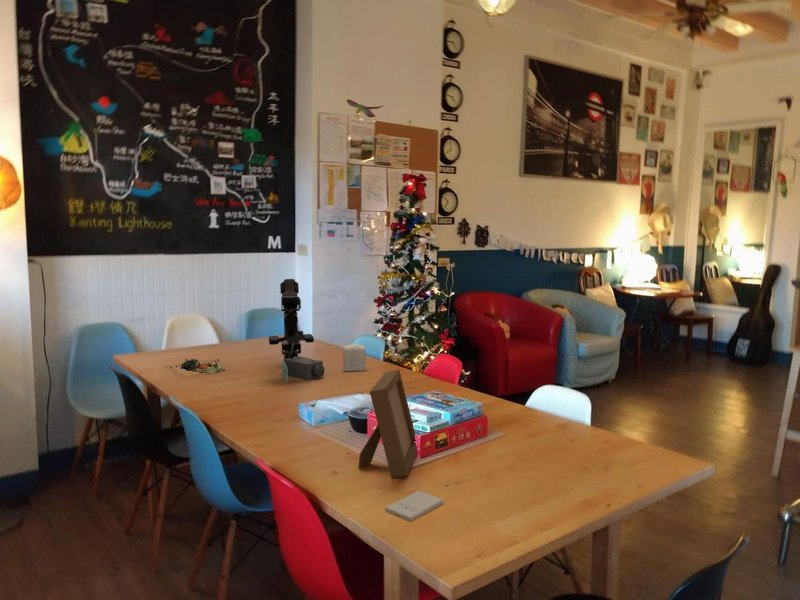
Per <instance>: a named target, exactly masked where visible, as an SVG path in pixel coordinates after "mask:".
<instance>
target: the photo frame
mask: <svg viewBox="0 0 800 600" xmlns="http://www.w3.org/2000/svg"><path fill="white" fill-rule="evenodd" d="M369 395H370V398H371V403H372V407H373V410H374V414H375V418H376V422H377V425H376V426H375V428H374V430H373V431H372V433H371V435H370V436H369V438H368V440H367V441H366V443H365V445H364V446H363V447H362V448H361V449H362V450H361V451H360V452H359V457H358V458H359V459H358V469H362V468H364V467H366V466H368V465H371V463H372V461H373V460H374V459H373V458H374V455H375V454H376V450H377V448H378V446H379V442H380V441H381V442H382V446H383V450H384V454H385V459H386V463H387V465H388V470H389V474H390V478H391V479H396V478H401V477H407V476H408V474H409V472H410V469H411V466H412V464H413V461H414V460H415V457H416V455H417V452H418V450H417V446H416V443H414V442H415V441H416V440H415V434H416V431H415V427H414V423H413V420H412V419H413V418H412V415H411V411H410V410H411V409H410V406H409V404H408V403H409V402H408V398H407V395H406V391H405V387H404V383H403V379H402V375H401V372H400V369H394V370H390V371H385V372H384V373H383V375H382V376H381V377H380V378H379V379H378V380H377V381H376V383H375V384H374V386H372V388H371V389H370V391H369Z"/></svg>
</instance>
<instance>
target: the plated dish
mask: <svg viewBox="0 0 800 600" xmlns="http://www.w3.org/2000/svg"><path fill="white" fill-rule="evenodd" d="M210 361H211V362H212V361H213V360H210ZM200 362H201V360H200V359H195V358H190V359H188V358H185V359H184V362H182V364H180V365H181V369H182V368H183V369H185V370H187V371H192V372H199V373H210V372H218V373H220V372H219V371H223V370H224V371H225V370H226V368H225V367H224V366H222V363H221V362H220V360H219V358H217V360H216V362H217V363H216V364H215V363H210V364H209V362H208V363H205V364H204V363H202V364H200ZM179 367H180V366H179ZM224 371H223V372H224Z"/></svg>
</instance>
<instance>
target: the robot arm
mask: <svg viewBox="0 0 800 600" xmlns="http://www.w3.org/2000/svg"><path fill="white" fill-rule="evenodd" d="M279 287H280V288H279V289H280V290H279V291H280V293H279V294H280V295H281V297H280V299H281V300H280V301H281V304H280V305H281V307H280V308H281V312H283V325H284V326H283V334H284V335H283V336H281V337H279V335H270V336H269V337H268V343H269V345H270V346H271V345H275V346H276V345H278V344H279V343H281V355H283V359H287V358H290V359H293V357H296V356H299V355H300V354H301V353H302V344H301V342H303V341H304V342H305V343H307V344H308V343H314V342H315V340H314V338H315V337H314V336H313V334H311V333H306V334H305V333H304V330H298V329H299V328H298V322H299V319H298V312H301V311H300V310H301V309H302V302H301V301H302V300H301V298H300V296H298V295H299V289H300V287H299V283H298V282H297V281H296V279H294V278H285V279H284V280H283V282H280V284H279Z"/></svg>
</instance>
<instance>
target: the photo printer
mask: <svg viewBox="0 0 800 600" xmlns="http://www.w3.org/2000/svg"><path fill="white" fill-rule="evenodd" d="M342 357H343V358H342V359H343V363H342V365H343V372H365V371H366V348H365V345H362V344H356V343H352V344H348V345H345V346H344V347H343V356H342Z"/></svg>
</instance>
